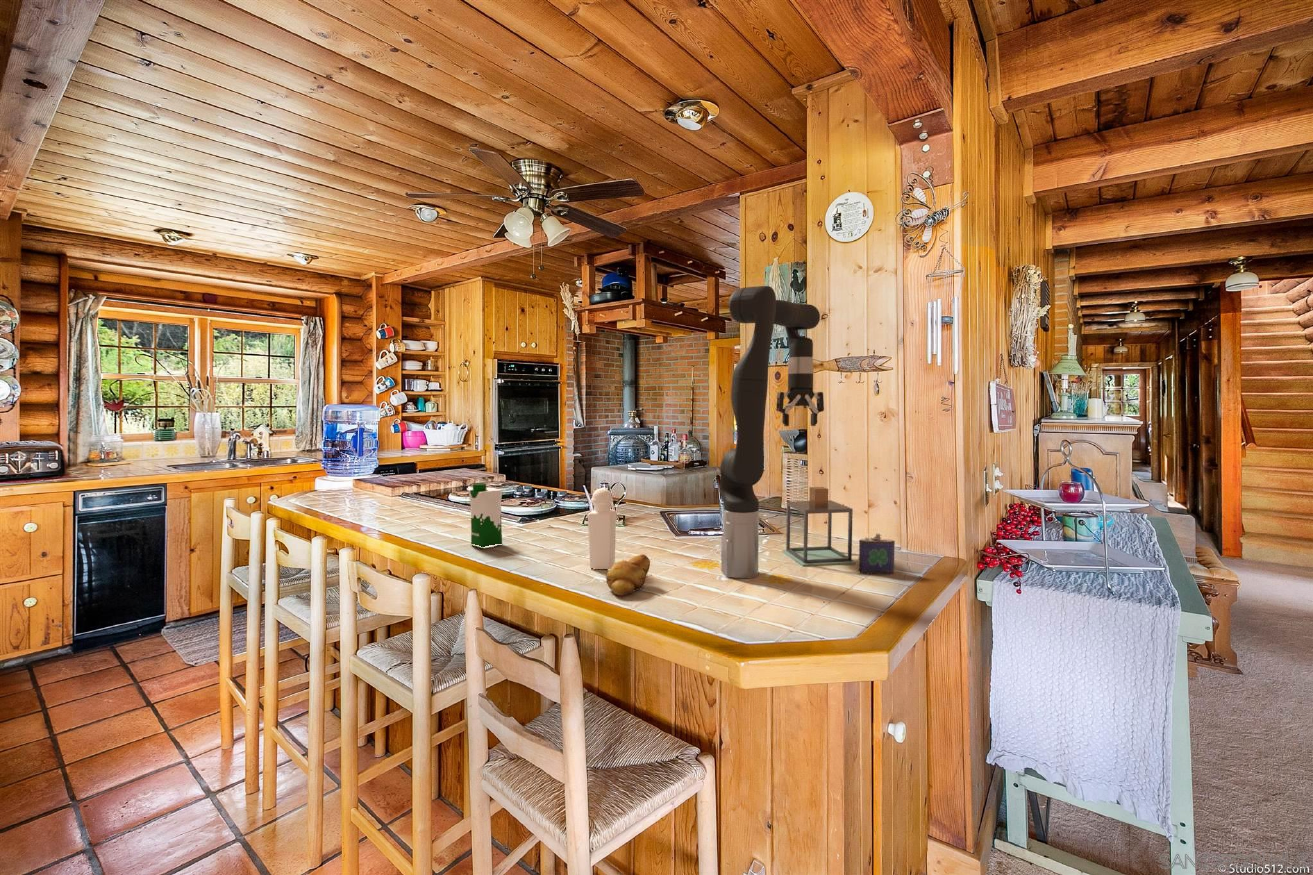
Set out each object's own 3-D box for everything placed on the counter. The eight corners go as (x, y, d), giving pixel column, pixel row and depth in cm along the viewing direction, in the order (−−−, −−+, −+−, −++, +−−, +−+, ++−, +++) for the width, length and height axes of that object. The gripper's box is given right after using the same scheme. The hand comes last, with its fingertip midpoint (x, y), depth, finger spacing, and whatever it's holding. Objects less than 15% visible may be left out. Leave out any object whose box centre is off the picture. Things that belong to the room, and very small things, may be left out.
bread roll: (633, 600, 136) (632, 566, 136) (595, 595, 140) (595, 562, 139) (652, 584, 149) (652, 552, 148) (617, 580, 152) (617, 549, 151)
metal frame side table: (804, 563, 165) (805, 492, 163) (786, 550, 179) (787, 485, 177) (851, 561, 167) (852, 491, 166) (829, 548, 181) (831, 483, 179)
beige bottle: (616, 564, 166) (616, 486, 165) (611, 571, 160) (610, 490, 158) (594, 563, 167) (593, 486, 166) (587, 569, 161) (587, 489, 159)
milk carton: (467, 545, 187) (465, 483, 186) (492, 540, 194) (491, 480, 193) (481, 550, 181) (479, 486, 180) (506, 545, 188) (505, 483, 187)
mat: (802, 566, 164) (802, 564, 164) (782, 551, 179) (782, 549, 179) (856, 563, 166) (856, 561, 166) (831, 549, 182) (831, 547, 182)
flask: (892, 571, 159) (893, 532, 158) (896, 574, 156) (897, 534, 155) (857, 571, 159) (858, 532, 158) (860, 574, 156) (861, 534, 155)
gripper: (782, 372, 174) (782, 426, 175) (828, 372, 176) (827, 426, 177) (773, 373, 181) (773, 425, 182) (817, 373, 183) (816, 425, 185)
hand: (799, 426), depth 180 cm, fingers open, 8 cm apart
